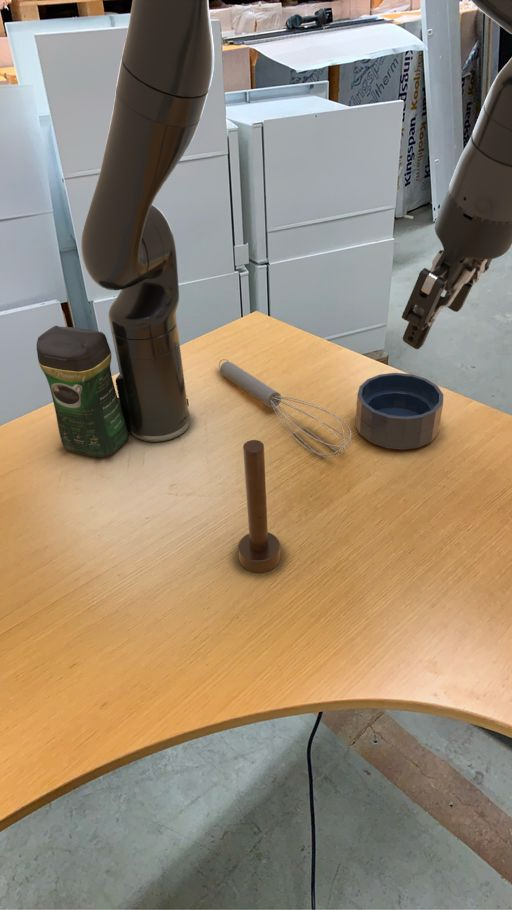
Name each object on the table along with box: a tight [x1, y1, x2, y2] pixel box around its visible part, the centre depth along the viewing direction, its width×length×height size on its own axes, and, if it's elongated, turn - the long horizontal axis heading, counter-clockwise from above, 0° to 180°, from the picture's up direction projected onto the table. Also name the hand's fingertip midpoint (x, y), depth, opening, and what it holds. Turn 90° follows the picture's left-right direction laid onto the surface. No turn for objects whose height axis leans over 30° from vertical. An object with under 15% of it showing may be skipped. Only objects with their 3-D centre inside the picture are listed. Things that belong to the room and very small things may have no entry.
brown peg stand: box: [237, 439, 281, 573], centre depth 74 cm, size 5×5×17 cm
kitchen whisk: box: [218, 359, 352, 459], centre depth 102 cm, size 6×34×6 cm, turn 34°
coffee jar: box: [36, 325, 129, 458], centre depth 94 cm, size 10×8×19 cm
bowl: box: [355, 372, 444, 451], centre depth 97 cm, size 12×12×6 cm
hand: (431, 325), depth 73 cm, fingers open, 8 cm apart
